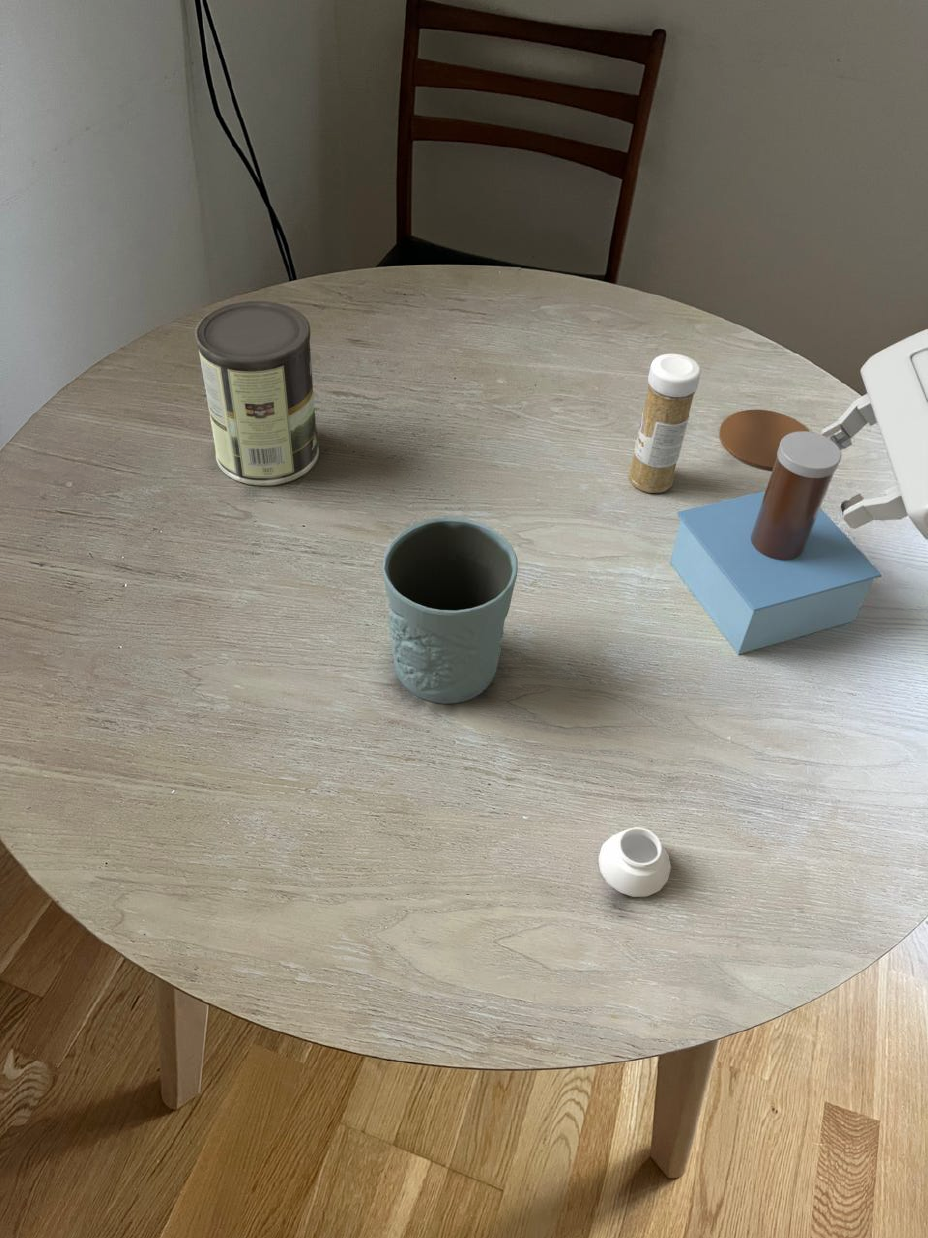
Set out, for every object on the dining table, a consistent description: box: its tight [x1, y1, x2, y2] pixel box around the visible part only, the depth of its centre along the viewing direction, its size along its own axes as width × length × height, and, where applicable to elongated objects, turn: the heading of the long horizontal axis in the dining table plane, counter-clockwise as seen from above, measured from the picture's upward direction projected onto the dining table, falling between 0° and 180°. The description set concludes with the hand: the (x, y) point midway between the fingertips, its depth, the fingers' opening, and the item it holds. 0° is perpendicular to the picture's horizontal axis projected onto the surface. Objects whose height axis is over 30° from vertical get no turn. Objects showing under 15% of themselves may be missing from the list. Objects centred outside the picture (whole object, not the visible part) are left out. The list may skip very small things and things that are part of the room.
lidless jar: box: [598, 826, 672, 898], centre depth 73 cm, size 5×3×5 cm
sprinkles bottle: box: [628, 353, 702, 494], centre depth 99 cm, size 5×5×13 cm
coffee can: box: [194, 300, 320, 487], centre depth 99 cm, size 10×10×14 cm
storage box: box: [669, 490, 883, 655], centre depth 92 cm, size 13×13×6 cm
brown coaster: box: [718, 409, 811, 471], centre depth 109 cm, size 10×10×1 cm
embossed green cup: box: [382, 516, 519, 705], centre depth 82 cm, size 10×10×12 cm
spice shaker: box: [751, 431, 842, 560], centre depth 86 cm, size 5×5×10 cm
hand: (834, 478), depth 83 cm, fingers open, 8 cm apart
